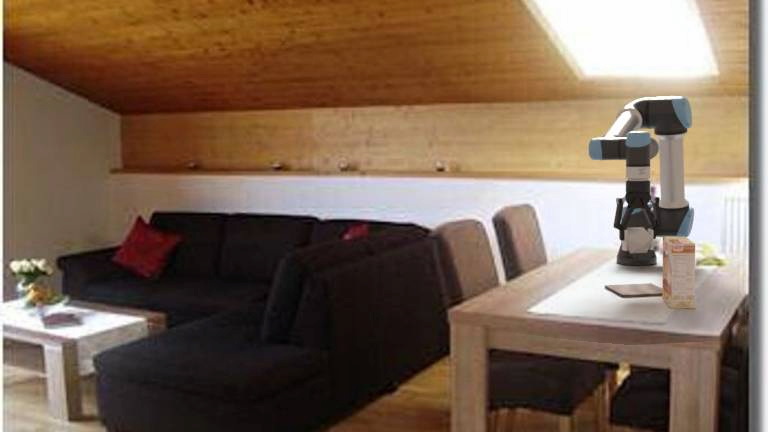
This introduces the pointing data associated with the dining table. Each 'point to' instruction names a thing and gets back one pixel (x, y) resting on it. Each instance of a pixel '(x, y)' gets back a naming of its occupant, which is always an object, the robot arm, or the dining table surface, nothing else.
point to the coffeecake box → (678, 272)
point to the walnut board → (635, 290)
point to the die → (638, 240)
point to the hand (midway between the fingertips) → (637, 249)
